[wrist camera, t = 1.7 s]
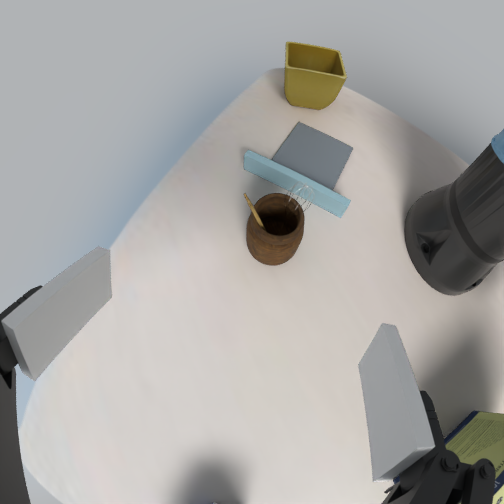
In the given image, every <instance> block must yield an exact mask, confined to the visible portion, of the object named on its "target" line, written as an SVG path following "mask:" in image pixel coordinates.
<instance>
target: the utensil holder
mask: <svg viewBox="0 0 504 504" xmlns="http://www.w3.org/2000/svg"><path fill="white" fill-rule="evenodd" d="M299 182H301V181H299ZM297 183H298V182H297ZM297 183H296V184H297ZM302 183H303V182H302ZM306 183H307V182H306ZM306 183H305V184H306ZM296 184H295V185H294V187H295V186H296ZM303 184H304V183H303ZM305 184H304V185H302V186H305V187H306V188H307V189H308V188H309V187H308V186H307V185H305ZM292 187H293V186H292ZM292 187H291V188H292ZM294 187H293V188H294ZM311 187H312V186H311ZM291 188H290V189H291ZM303 188H304V187H303ZM303 188H301V189H303ZM306 188H305V190H306ZM290 189H289V190H290ZM309 189H310V188H309ZM292 190H293V189H292ZM299 190H300V189H299ZM297 191H298V190H297ZM297 191H296V192H297ZM301 191H302V190H301ZM288 192H289V191H288ZM291 192H292V191H291ZM296 192H295V193H296ZM304 192H305V191H304ZM308 192H309V190H308ZM312 192H313V187H312V191H311V193H312ZM295 193H294V194H295ZM300 193H301V192H300ZM311 193H310V194H311ZM313 193H314V192H313ZM287 194H288V193H287ZM294 194H293V195H294ZM310 194H309V197H308V198H309V202H310ZM290 195H291V193H290ZM293 195H292V196H293ZM299 195H300V194H299ZM299 195H298V196H299ZM303 195H304V193H303ZM244 196H245V198H246V200H247V202H248V205H249V207H250V209H251V211H252V212H251V215H250V217H249V219H248V223H247V246H248V249H249V251H250V253H251V255H252V256H253V257H254V258H255V259H256V260H258V261H259V262H261V263H263V264H266V265H280V264H283V263H285V262H287V261H288V260H289V259H290V258H291V257H292V256H293V255H294V254H295V252H296V250H297V248H298V246H299V244H300V242H301V240H302V237H303V232H304V211H305V210H306V209H305V210H304V211H303V210H302V207H301V206H302V205H303V204H304V203H305V202H306V201H305V202H304V203H303V204H302V205H301V206H300V204H299V203H300V202H299V203H298V202H297V201H296V200H297V199H296V200H295V199H293V198H292V196H291V197H290V196H288V195H285V194H280V193H273V194H268V195H266V196H264V197H262V198H261V199H259V200H258V201H257V202H256V204H255V205H254V207H253V205H252V203H251V202H250V200H249V198H248V197H247V195H246V194H244ZM302 197H303V196H302ZM297 198H298V197H297ZM308 198H307V199H308ZM301 199H302V198H301ZM313 200H314V198H313ZM313 200H312V201H313ZM300 201H301V200H300ZM311 203H312V202H311ZM308 204H309V203H308ZM310 205H311V204H310ZM310 205H309V206H310ZM307 206H308V205H307ZM306 208H307V207H306ZM308 208H309V207H308ZM308 208H307V209H308Z"/></svg>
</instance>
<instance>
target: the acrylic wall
mask: <svg viewBox="0 0 504 504" xmlns="http://www.w3.org/2000/svg"><path fill="white" fill-rule="evenodd" d="M244 169H245V170H247V171H249V172H251V173H253V174H255V175H258V176H260V177H262V178H264V179H266V180H268V181H270V182H272V183H274V184H276V185H278V186H280V187H282V188H284V189H286V190H288V191H290V192H291V191H292V193H295V192H296V191H297V190H298V191H297V192H296V193H295V194H296V195H299V194H300V195H299V196H300V197H302V196H303V197H302V198H304V199H306V200H308V201H309V198H308V197H309V194H310V193H311V191H312V187H313V192H314V193H313V192H312V193H311V194H310V202H312V203H313V204H315V205H317V206H319V207H321V208H323V209H325V210H327V211H328V212H330V213H332V214H334V215H336V216H338V217H340V218H341V217H342V215H343V214H344V212H345V211H346V209H347V207H348V206H349V203H350V201H351V200H349V199H347V198H345V197H343V196H342V195H340V194H338V193H336V192H334V191H332V190H330V189H328V188H327V187H325V186H323V185H321V184H319V183H317V182H315V181H313V180H311V179H309V178H307V177H305V176H303V175H301V174H299V173H297V172H295V171H293V170H291V169H289V168H287V167H285V166H283V165H280V164H278V163H276V162H274V161H272V160H270V159H268V158H265V157H263V156H261V155H259V154H257V153H254V152H252V151H250V150H248V151H247V152H246V153H245V155H244ZM299 181H301V182H299ZM297 182H298V183H297ZM302 182H303V183H304V184H305V183H306V182H307V183H306V184H305V185H307V186H308V187H309V188H310V189H309V188H308V189H307V188H306V187H305V186H302V185H304V184H303V183H302ZM296 183H297V184H296ZM295 184H296V186H295V187H294V185H295ZM292 186H293V187H294V188H293V187H292ZM311 186H312V187H311ZM291 187H292V188H291ZM303 187H304V188H303ZM290 188H291V189H290ZM301 188H303V189H301ZM305 188H306V190H305ZM289 189H290V190H289ZM292 189H293V190H292ZM299 189H300V190H299ZM301 190H302V191H301ZM308 190H309V192H308ZM304 191H305V192H304ZM300 192H301V193H300ZM303 193H304V195H303ZM307 198H308V199H307ZM313 198H314V200H313ZM312 200H313V201H312Z"/></svg>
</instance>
